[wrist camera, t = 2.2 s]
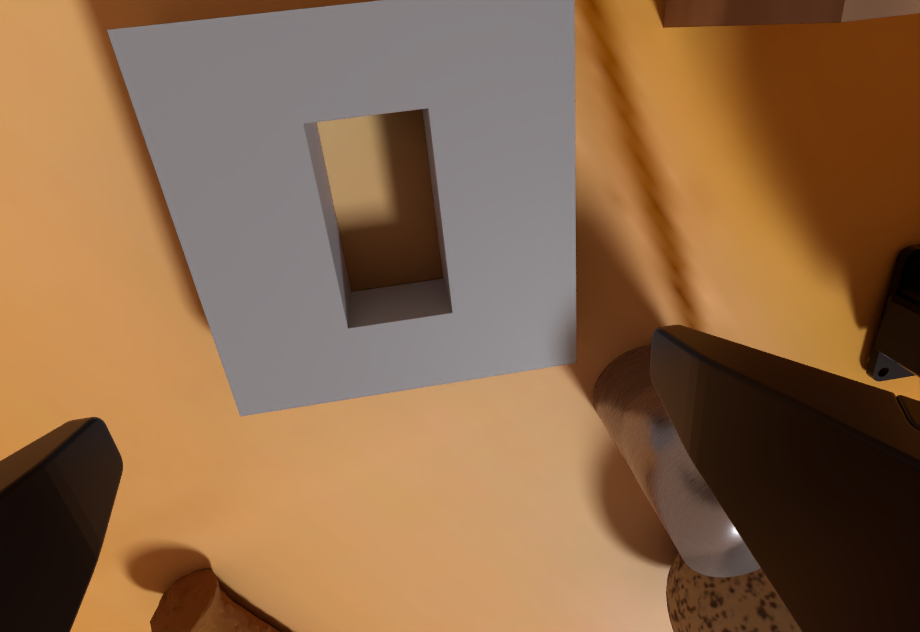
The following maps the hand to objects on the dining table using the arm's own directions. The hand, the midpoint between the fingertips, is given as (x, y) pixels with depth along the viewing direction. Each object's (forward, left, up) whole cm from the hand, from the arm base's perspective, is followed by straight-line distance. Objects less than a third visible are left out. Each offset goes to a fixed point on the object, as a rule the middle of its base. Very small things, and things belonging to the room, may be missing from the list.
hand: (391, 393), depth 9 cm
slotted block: (0, 0, -12) cm, 12 cm away
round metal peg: (-10, +10, -12) cm, 19 cm away
